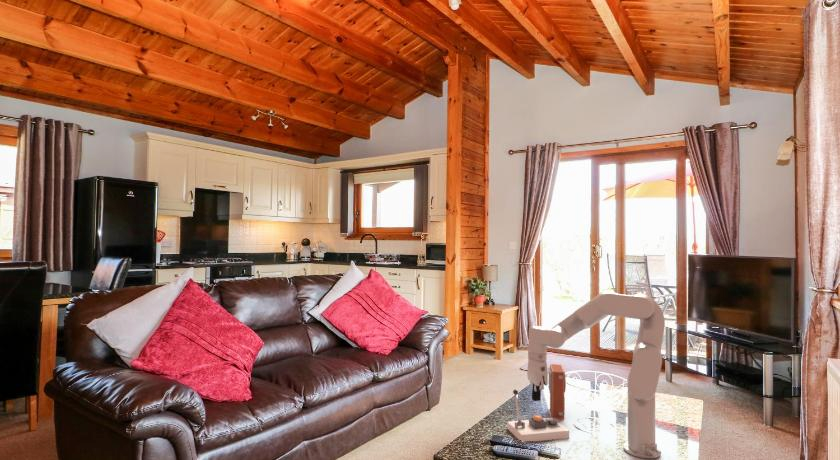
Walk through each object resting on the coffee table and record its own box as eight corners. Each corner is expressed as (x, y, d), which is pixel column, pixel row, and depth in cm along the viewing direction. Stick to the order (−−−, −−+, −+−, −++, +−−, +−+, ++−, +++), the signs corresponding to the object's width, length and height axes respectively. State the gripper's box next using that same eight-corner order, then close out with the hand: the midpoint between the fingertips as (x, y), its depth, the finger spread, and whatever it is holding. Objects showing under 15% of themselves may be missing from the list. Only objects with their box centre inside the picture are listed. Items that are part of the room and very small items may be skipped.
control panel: (562, 408, 222) (566, 420, 208) (547, 407, 224) (550, 419, 209) (562, 363, 223) (566, 372, 208) (547, 363, 224) (550, 371, 210)
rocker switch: (557, 423, 194) (557, 420, 194) (550, 423, 193) (550, 420, 193) (552, 420, 198) (552, 418, 198) (545, 421, 197) (545, 418, 197)
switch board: (569, 437, 189) (569, 424, 190) (521, 442, 185) (521, 428, 185) (552, 424, 203) (552, 411, 203) (507, 428, 198) (507, 415, 198)
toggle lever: (523, 425, 191) (518, 389, 196) (518, 426, 191) (513, 389, 196) (521, 425, 193) (516, 389, 198) (516, 426, 193) (512, 389, 198)
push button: (543, 422, 193) (543, 418, 193) (535, 423, 192) (535, 418, 192) (539, 419, 196) (539, 414, 196) (531, 420, 195) (531, 415, 195)
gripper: (554, 360, 188) (553, 406, 188) (537, 351, 203) (536, 393, 203) (537, 361, 187) (536, 407, 186) (521, 352, 201) (520, 394, 201)
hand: (536, 400), depth 194 cm, fingers closed
